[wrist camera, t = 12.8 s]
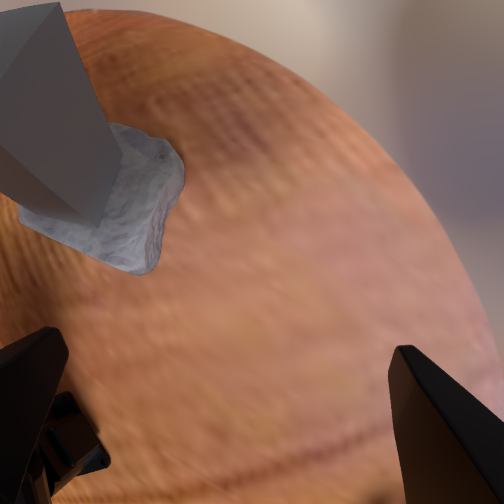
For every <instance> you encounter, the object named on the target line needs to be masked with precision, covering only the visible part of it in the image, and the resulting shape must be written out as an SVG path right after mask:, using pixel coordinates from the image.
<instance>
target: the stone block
mask: <svg viewBox="0 0 504 504" xmlns="http://www.w3.org/2000/svg"><path fill="white" fill-rule="evenodd" d="M108 124H109V126H110V128H111V130H112V132H113V135H114V137H115V139H116V141H117V143H118V145H119V148H120V150H121V152H122V154H123V156H122V159H121V161H120V164H119V167H118V170H117V173H116V175H115V178H114V181H113V184H112V187H111V190H110V193H109V196H108V199H107V202H106V206H105V209H104V212H103V216H102V219H101V222H100V226H99V229H96V228H91V227H87V226H83V225H79V224H74V223H70V222H66V221H62V220H58V219H53V218H49V217H45V216H41V215H37V214H34V213H32V212H31V211H29V210H28V209H26V208H24V207H23V206H21V205H20V204H18V211H19V214H18V218H19V220H20V224H23V225H25V226H27V227H29V228H31V229H33V230H35V231H37V232H39V233H41V234H42V235H45V236H47V237H49V238H51V239H53V240H56V241H58V242H60V243H62V244H64V245H67V246H69V247H71V248H73V249H76V250H78V251H80V252H82V253H84V254H86V255H89V256H91V257H93V258H95V259H97V260H99V261H101V262H103V263H105V264H108V265H110V266H112V267H115V268H117V269H120V270H123V271H125V272H127V273H130V274H132V275H138V276H141V275H144V274H146V273H148V272H150V271H152V270H153V268H154V267H155V266H156V265H157V263H158V261H159V257H160V253H161V246H162V237H163V234H164V228H165V227H164V223H165V220H166V218H167V215H168V213H169V212H170V210H171V209H172V207H173V206H174V205H175V204H176V202H177V200H178V198H179V195H180V193H181V191H182V190H183V187H184V182H185V180H184V171H185V169H184V164H183V161H182V159H181V158H180V156H179V155H178V154H177V152H176V151H175V150H174V148H173V147H172V146H171V145H170V143H169V142H168V141H167V140H165V139H163V138H153V137H150V136H148V135H147V134H146V133H145V132H144V131H142V130H139V129H137V128H135V127H130V126H125V125H122V124H119V123H112V122H108Z"/></svg>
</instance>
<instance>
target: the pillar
mask: <svg viewBox="0 0 504 504" xmlns="http://www.w3.org/2000/svg"><path fill="white" fill-rule="evenodd" d="M122 156H123V154H122V152H121V150H120V148H119V145H118V143H117V141H116V139H115V137H114V135H113V132H112V130H111V128H110V126H109V124H108V122H107V119H106V117H105V115H104V113H103V110H102V108H101V106H100V104H99V101H98V99H97V97H96V94H95V92H94V90H93V87H92V85H91V83H90V80H89V78H88V75H87V73H86V70H85V68H84V66H83V63H82V61H81V58H80V56H79V53H78V50H77V48H76V45H75V43H74V40H73V38H72V35H71V32H70V30H69V27H68V24H67V21H66V19H65V16H64V13H63V10H62V8H61V5H60V2H55V3H47V4H40V5H34V6H28V7H23V8H18V9H13V10H8V11H4V12H0V192H1V193H3V194H4V195H6V196H7V197H9V198H10V199H12V200H13V201H15V202H17V203H18V204H20V205H21V206H23V207H24V208H26V209H28V210H29V211H31V212H32V213H34V214H37V215H41V216H45V217H49V218H53V219H58V220H62V221H66V222H70V223H74V224H79V225H83V226H87V227H91V228H96V229H99V226H100V222H101V219H102V216H103V212H104V209H105V206H106V202H107V199H108V196H109V193H110V190H111V187H112V184H113V181H114V178H115V175H116V173H117V170H118V167H119V164H120V161H121V159H122Z"/></svg>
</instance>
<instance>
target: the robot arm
mask: <svg viewBox="0 0 504 504" xmlns="http://www.w3.org/2000/svg"><path fill="white" fill-rule="evenodd" d="M68 356H69V351H68V348H67V345H66V343H65V341H64V339H63V336H62V334H61V332H60V330H59V329H58V328H56V327H50V326H46V327H44V328H42V329H40V330H38V331H36V332H34V333H32V334H30V335H28V336H26V337H24V338H22V339H20V340H18V341H16V342H14V343H12V344H10V345H8V346H6V347H4V348H2V349H0V504H52V501H51V497H52V496H54V495H55V494H56V493H57V492H58V491H59V490H60V489H62V488H63V487H64V486H65V485H66V484H67V483H68V482H70V481H71V480H72V479H73V478H74V477H76V476H80V475H84V474H87V473H91V472H94V471H98V470H101V469H105V468H107V467H109V466H110V464H111V461H110V459H109V457H108V456H107V454H106V453H105V451H104V450H103V448H102V446H101V445H100V443H99V441H98V439H97V438H96V436H95V434H94V433H93V431H92V430H91V428H90V426H89V424H88V423H87V421H86V419H85V418H84V416H83V415H82V413H81V411H80V410H79V408H78V406H77V404H76V402H75V400H74V399H73V397H72V395H71V394H70V393H69V392H67V391H66V392H63V393H60V394H58V395H56V396H55V394H56V391H57V388H58V385H59V382H60V379H61V376H62V374H63V371H64V368H65V365H66V362H67V360H68ZM388 383H389V391H390V400H391V409H392V420H393V429H394V435H395V441H396V446H397V451H398V456H399V461H400V467H401V472H402V478H403V484H404V490H405V497H406V503H407V504H504V422H503V421H502V420H500V419H499V418H498V417H497V416H496V415H495V414H494V413H492V412H491V411H490V410H489V409H488V408H487V407H486V406H484V405H483V404H482V403H481V402H480V401H479V400H478V399H476V398H475V397H474V396H473V395H472V394H471V393H469V392H468V391H467V390H466V389H465V388H464V387H462V386H461V385H460V384H459V383H458V382H457V381H455V380H454V379H453V378H452V377H451V376H449V375H448V374H447V373H446V372H445V371H444V370H442V369H441V368H440V367H439V366H438V365H436V364H435V363H434V362H433V361H432V360H430V359H429V358H428V357H427V356H426V355H424V354H423V353H422V352H421V351H420V350H418V349H417V348H416V347H415V346H413V345H399V346H397V347H396V348H395V350H394V354H393V357H392V360H391V363H390V367H389V370H388ZM65 396H66V397H67V399H68V401H67V400H66V399H65ZM102 460H104V461H105V462H106V463H104V462H103V461H102Z"/></svg>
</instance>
